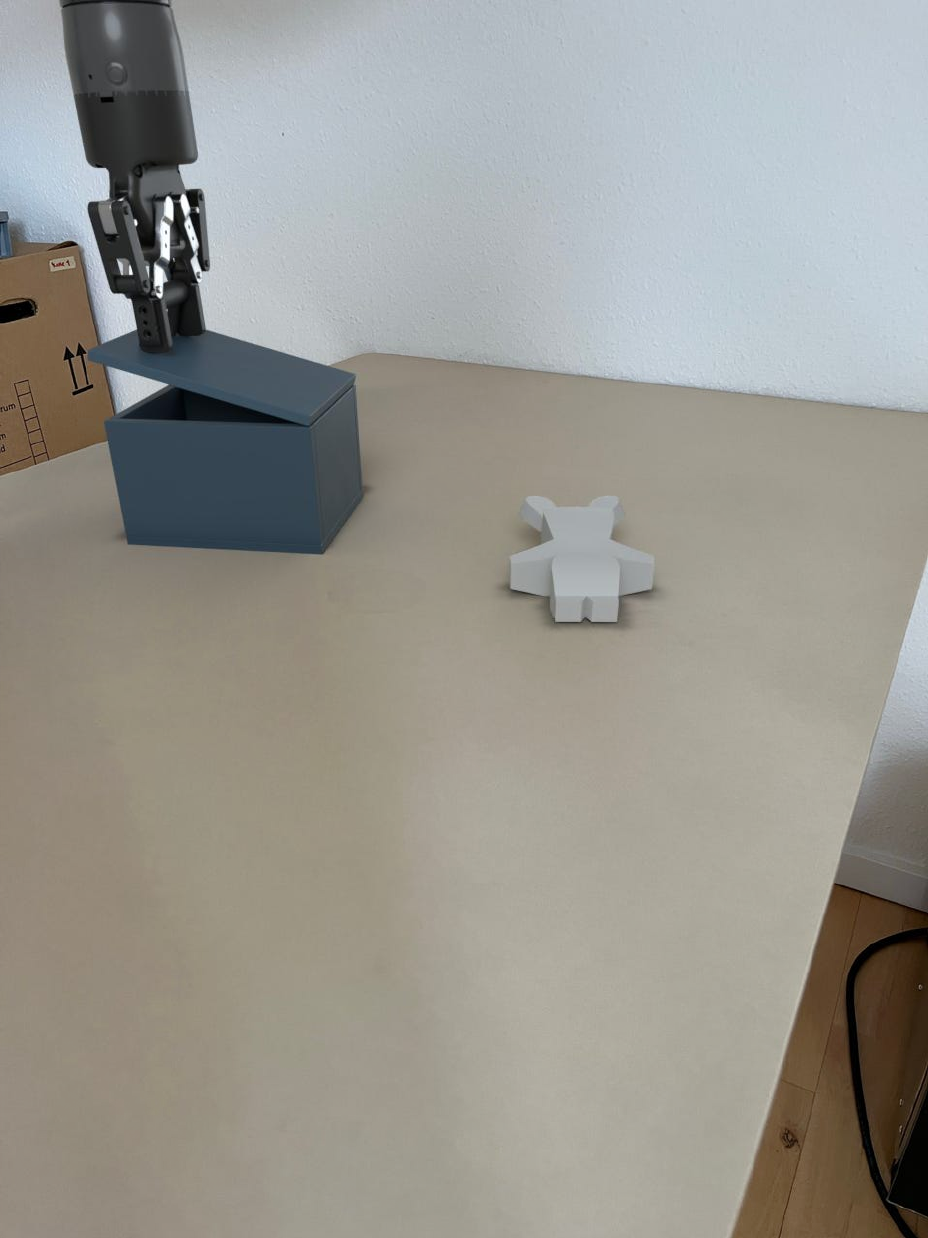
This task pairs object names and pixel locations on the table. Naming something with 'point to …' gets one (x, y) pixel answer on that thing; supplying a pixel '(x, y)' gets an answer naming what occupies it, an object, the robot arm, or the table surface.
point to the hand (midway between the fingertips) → (175, 342)
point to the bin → (234, 474)
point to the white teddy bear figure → (579, 560)
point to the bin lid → (229, 368)
